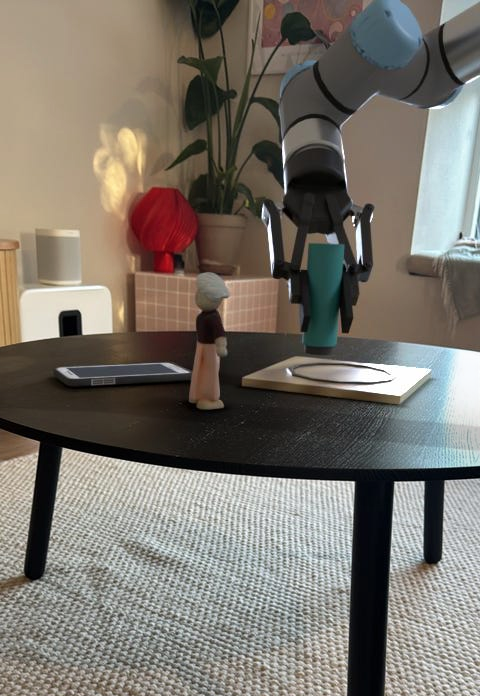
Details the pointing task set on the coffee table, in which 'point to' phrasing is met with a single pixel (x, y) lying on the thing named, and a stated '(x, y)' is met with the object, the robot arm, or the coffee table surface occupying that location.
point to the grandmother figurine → (208, 342)
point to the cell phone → (121, 374)
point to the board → (340, 379)
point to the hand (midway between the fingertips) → (326, 324)
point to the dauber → (323, 297)
